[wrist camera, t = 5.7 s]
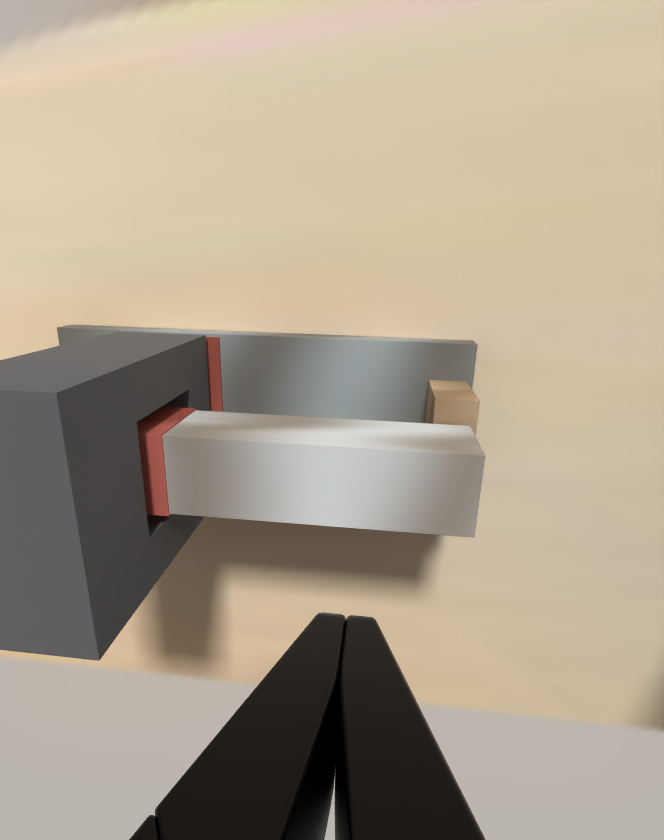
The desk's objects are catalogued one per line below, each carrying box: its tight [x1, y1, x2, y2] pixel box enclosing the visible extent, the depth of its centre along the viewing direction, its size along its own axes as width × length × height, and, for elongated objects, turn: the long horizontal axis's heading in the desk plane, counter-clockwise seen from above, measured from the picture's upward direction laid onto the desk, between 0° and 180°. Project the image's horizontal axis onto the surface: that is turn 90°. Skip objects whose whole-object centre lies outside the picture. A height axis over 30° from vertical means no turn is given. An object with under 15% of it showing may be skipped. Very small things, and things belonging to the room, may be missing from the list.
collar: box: [0, 331, 210, 661], centre depth 13 cm, size 3×6×7 cm, turn 178°
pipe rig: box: [57, 325, 485, 538], centre depth 15 cm, size 14×6×5 cm, turn 88°
